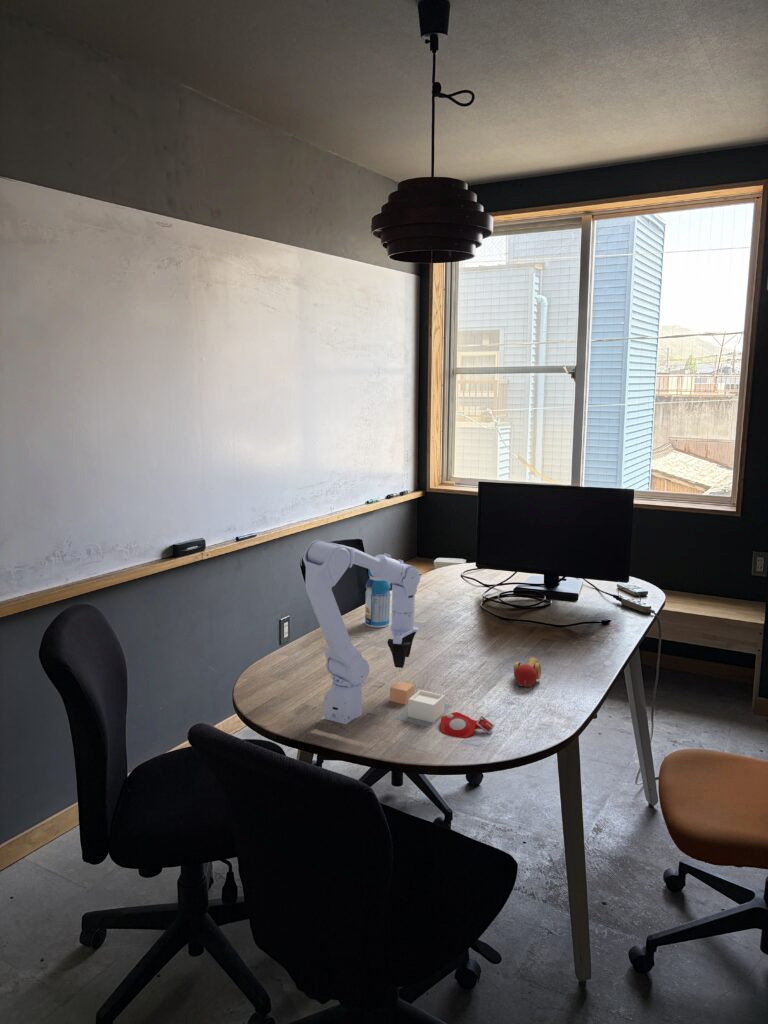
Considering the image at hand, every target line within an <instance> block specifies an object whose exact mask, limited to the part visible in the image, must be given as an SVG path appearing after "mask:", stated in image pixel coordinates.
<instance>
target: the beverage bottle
mask: <svg viewBox="0 0 768 1024" xmlns="http://www.w3.org/2000/svg"><path fill="white" fill-rule="evenodd" d="M367 569H368V568H367ZM367 572H368V577H369V578H368V579H367V581H366V584H365V588H366V591H365V593H364V596H365V610H364V611H365V613H364V615H365V617H364V624H365V625H366V626H368V627H370V628H380V629H381V628H386V627H388V626H389V624H390V611H391V609H390V608H391V597H392V593H391V591H390V589H391V584H390V583H389V582H387V581H384V580H382V579H379V578H376V577H374V576H372V574H371V572H370V569H368V571H367Z"/></svg>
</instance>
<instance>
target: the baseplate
mask: <svg viewBox="0 0 768 1024" xmlns="http://www.w3.org/2000/svg"><path fill="white" fill-rule="evenodd" d="M451 707H452V704H451V705H450V704H446V703H444V713H443V714H442V715H441V716H440V717H439V718H438V719H437V720H435V721H434V722H429V721H424V720H420V719H416V718H412V717H408V707H406V709H405V710H403V711H402V712H401V713H400V714H398V715H397V716H396V717H395V718H394V720H399V721H402V722H406V723H410V724H415V725H418V726H422V727H427V728H431V726H433V724H435V722H437V721H438V720H439V719H441V717H442V716H444V714H445V713H447V711H448V710H449V709H451Z"/></svg>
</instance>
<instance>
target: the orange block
mask: <svg viewBox="0 0 768 1024" xmlns="http://www.w3.org/2000/svg"><path fill="white" fill-rule="evenodd" d="M414 694H415V684H413V683H412V684H411V683H407V682H404V681H400V680H399V681H397V682H395V683H394V684H392V685H391V686H390V687H389V702H393V703H397V704H401V705H406V706H407V705H408V702H409V698H411V697H412V696H413V695H414Z"/></svg>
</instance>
